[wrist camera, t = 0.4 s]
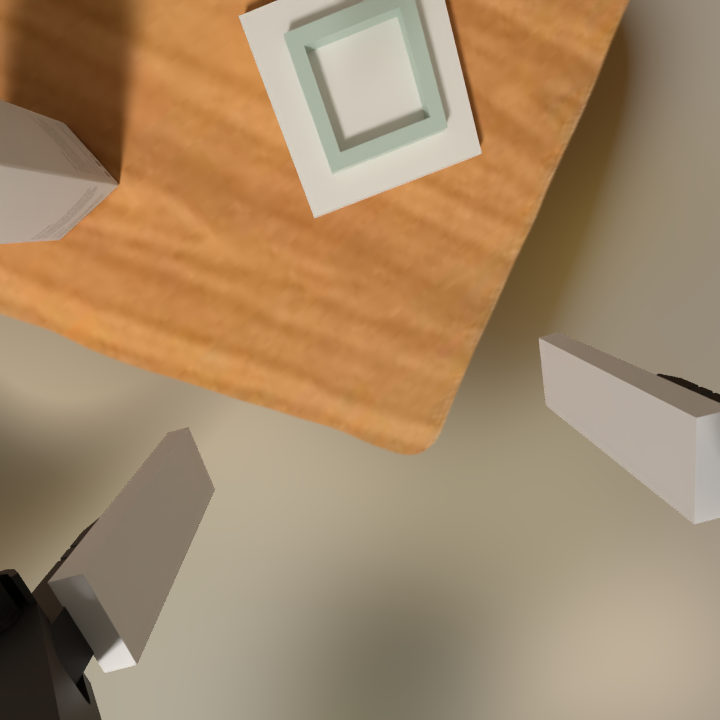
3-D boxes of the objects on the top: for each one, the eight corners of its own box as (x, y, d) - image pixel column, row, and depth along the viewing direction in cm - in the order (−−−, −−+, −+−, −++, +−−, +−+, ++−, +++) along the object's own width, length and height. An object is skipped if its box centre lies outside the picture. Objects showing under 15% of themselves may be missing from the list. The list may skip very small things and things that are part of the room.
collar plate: (242, 25, 33) (234, 5, 31) (425, -50, 33) (434, -77, 30) (314, 218, 38) (313, 217, 35) (475, 156, 38) (487, 149, 35)
